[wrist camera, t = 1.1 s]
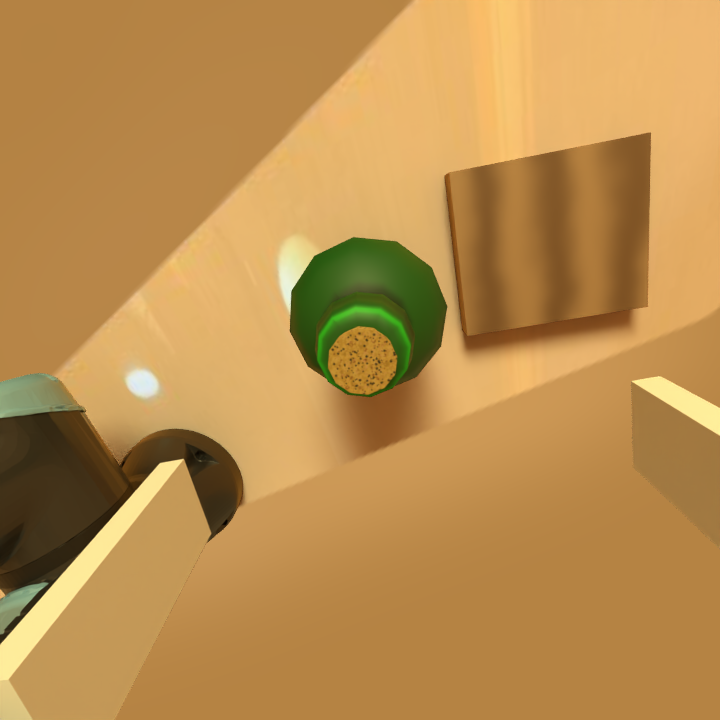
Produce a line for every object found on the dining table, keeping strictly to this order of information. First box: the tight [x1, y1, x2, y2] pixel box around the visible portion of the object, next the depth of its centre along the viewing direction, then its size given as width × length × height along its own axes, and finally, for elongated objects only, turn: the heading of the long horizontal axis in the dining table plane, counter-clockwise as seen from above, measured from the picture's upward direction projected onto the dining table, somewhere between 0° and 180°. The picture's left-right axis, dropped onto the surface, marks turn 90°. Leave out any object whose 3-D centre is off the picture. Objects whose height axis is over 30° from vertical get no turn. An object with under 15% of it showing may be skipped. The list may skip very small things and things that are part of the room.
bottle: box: [290, 237, 447, 397], centre depth 33 cm, size 11×11×28 cm
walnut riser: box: [445, 133, 651, 336], centre depth 43 cm, size 18×16×3 cm
